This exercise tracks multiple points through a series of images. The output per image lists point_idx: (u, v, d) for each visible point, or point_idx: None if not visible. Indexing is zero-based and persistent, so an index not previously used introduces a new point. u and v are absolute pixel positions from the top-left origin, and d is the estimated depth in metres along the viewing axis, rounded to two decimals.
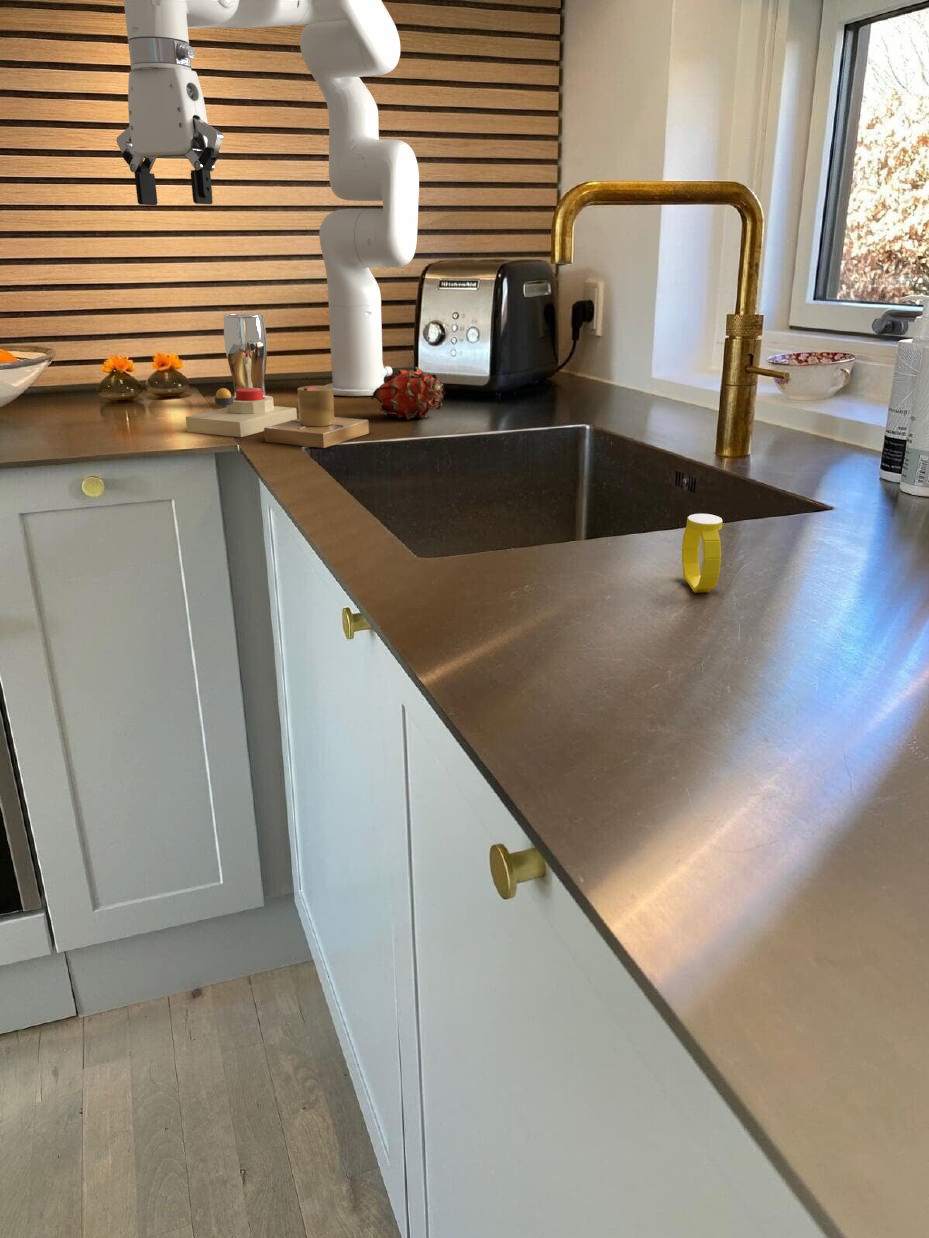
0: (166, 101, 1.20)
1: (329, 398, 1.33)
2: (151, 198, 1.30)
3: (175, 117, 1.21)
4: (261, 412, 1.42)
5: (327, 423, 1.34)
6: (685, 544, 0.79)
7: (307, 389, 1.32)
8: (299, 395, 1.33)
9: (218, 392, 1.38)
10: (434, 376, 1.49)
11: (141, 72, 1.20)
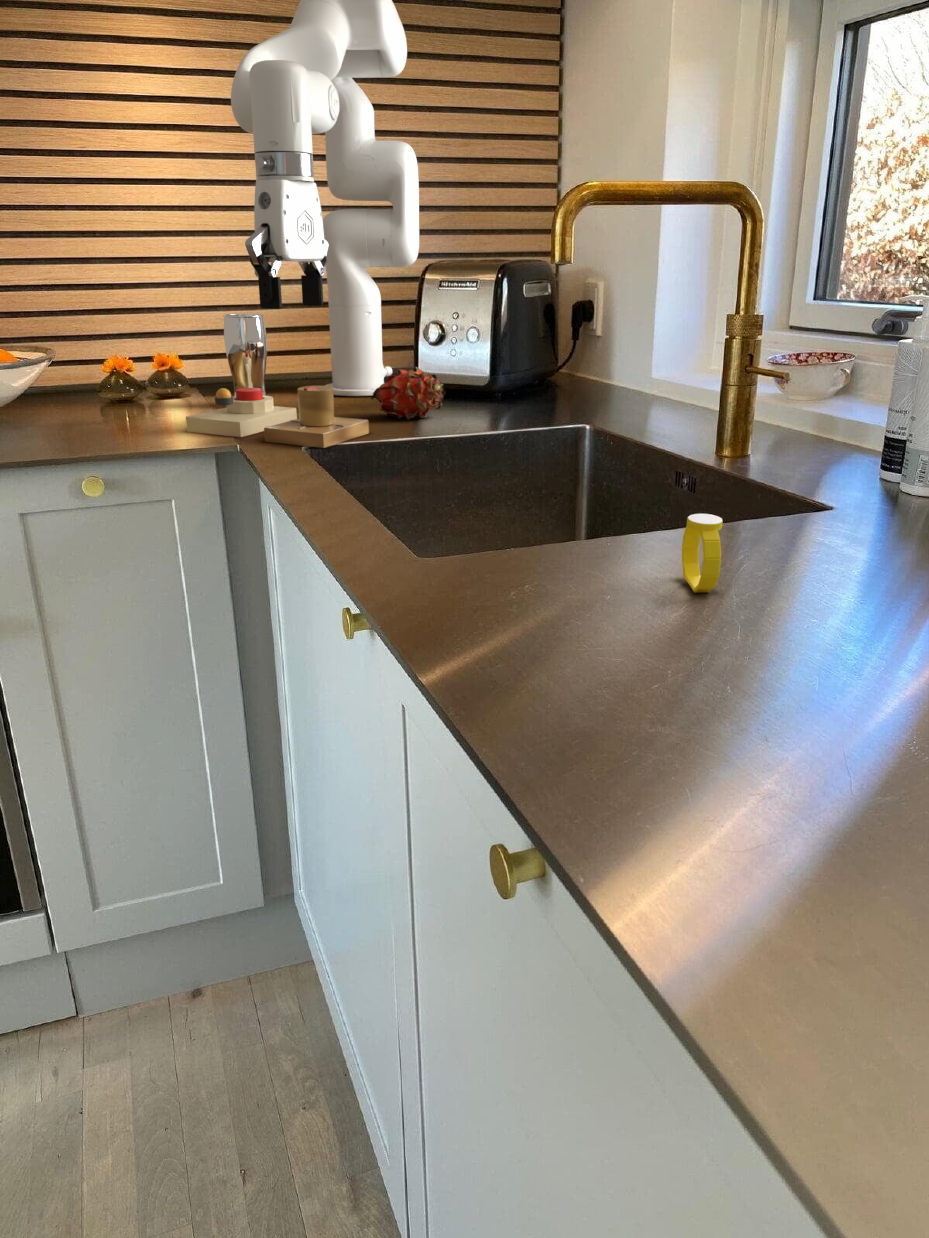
0: None
1: (329, 398, 1.33)
2: (313, 299, 1.33)
3: None
4: (261, 412, 1.42)
5: (327, 423, 1.34)
6: (685, 544, 0.79)
7: (307, 389, 1.32)
8: (299, 395, 1.33)
9: (218, 392, 1.38)
10: (434, 376, 1.49)
11: None
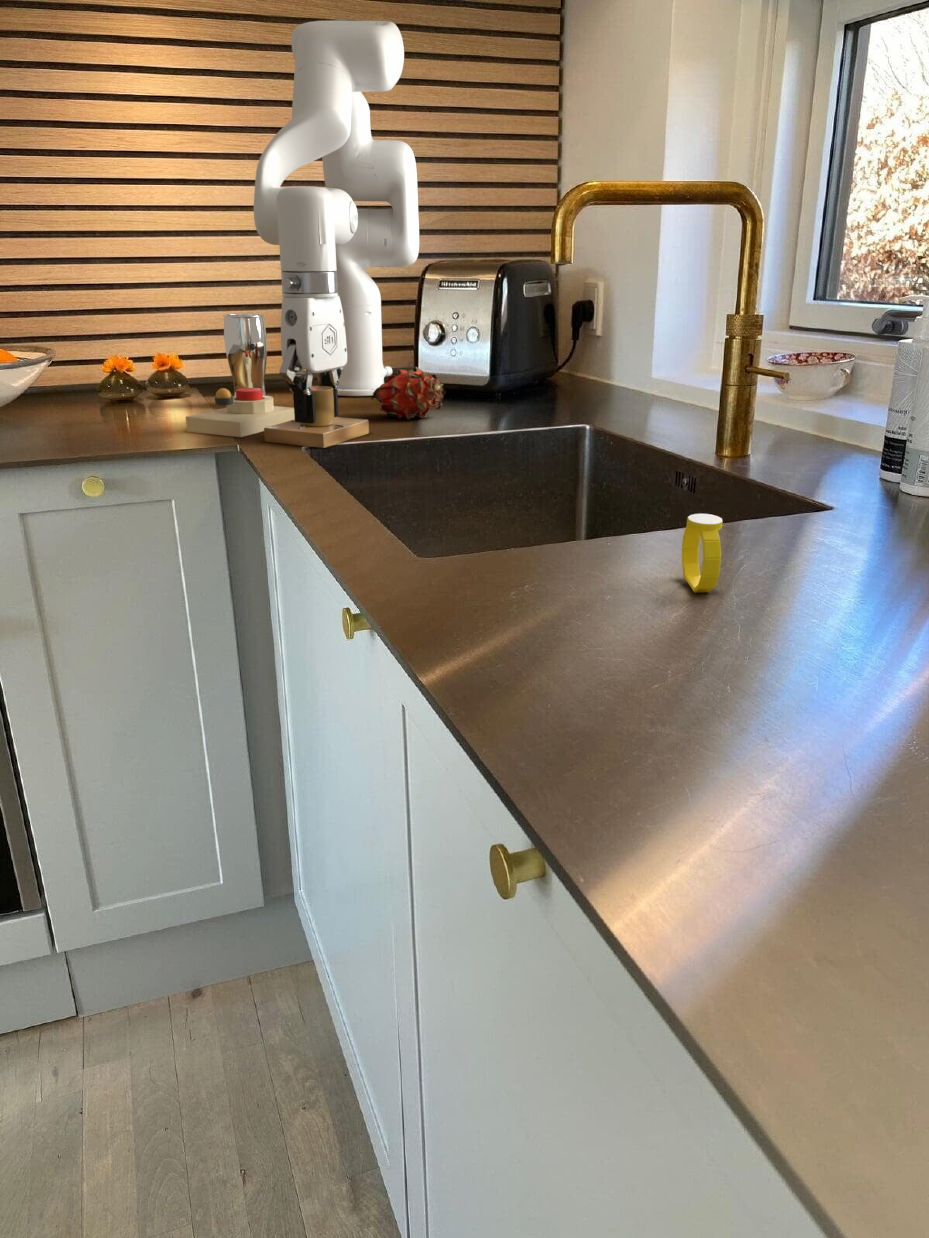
0: None
1: (329, 398, 1.33)
2: None
3: None
4: (261, 412, 1.42)
5: (327, 423, 1.34)
6: (685, 544, 0.79)
7: None
8: None
9: (218, 392, 1.38)
10: (434, 376, 1.49)
11: None
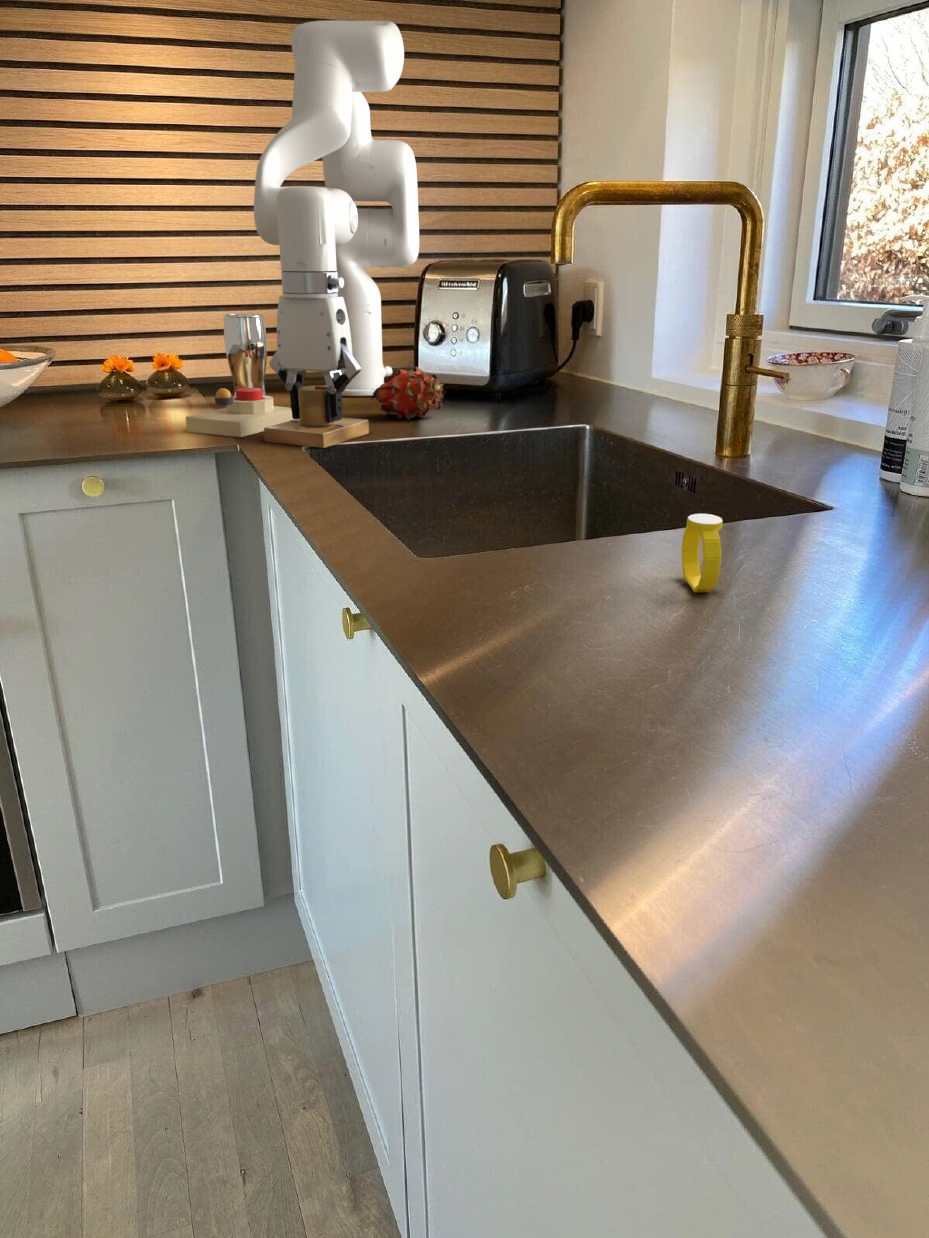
0: (316, 326, 1.28)
1: None
2: None
3: (324, 341, 1.28)
4: (261, 412, 1.42)
5: None
6: (685, 544, 0.79)
7: None
8: (323, 396, 1.32)
9: (218, 392, 1.38)
10: (434, 376, 1.49)
11: (293, 299, 1.28)
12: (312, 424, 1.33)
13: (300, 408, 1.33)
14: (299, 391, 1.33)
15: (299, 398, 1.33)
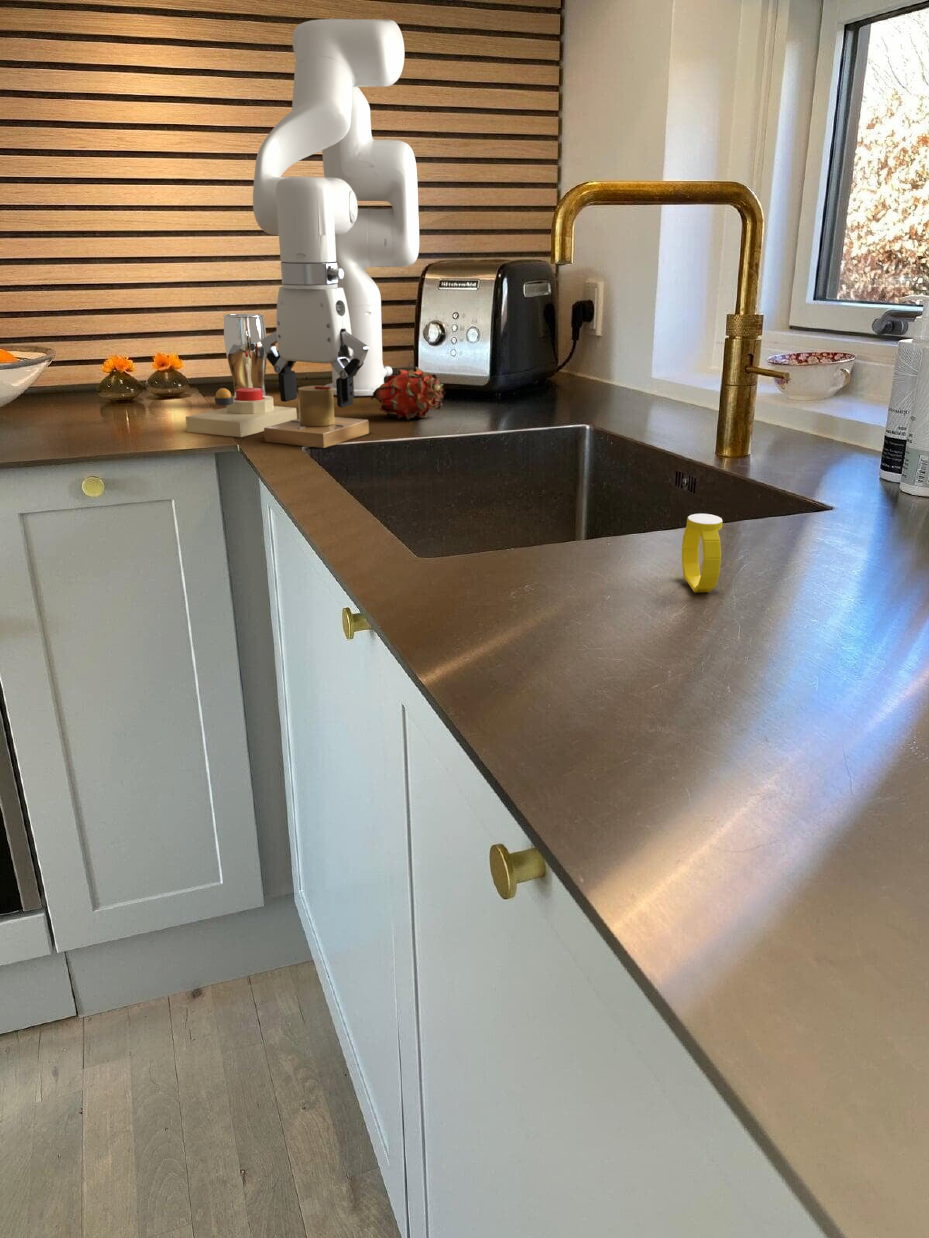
0: (316, 318, 1.27)
1: None
2: (292, 394, 1.37)
3: (324, 332, 1.28)
4: (261, 412, 1.42)
5: None
6: (685, 544, 0.79)
7: None
8: (323, 396, 1.32)
9: (218, 392, 1.38)
10: (434, 376, 1.49)
11: (292, 290, 1.27)
12: (312, 424, 1.33)
13: (300, 408, 1.33)
14: (299, 391, 1.32)
15: (299, 398, 1.33)
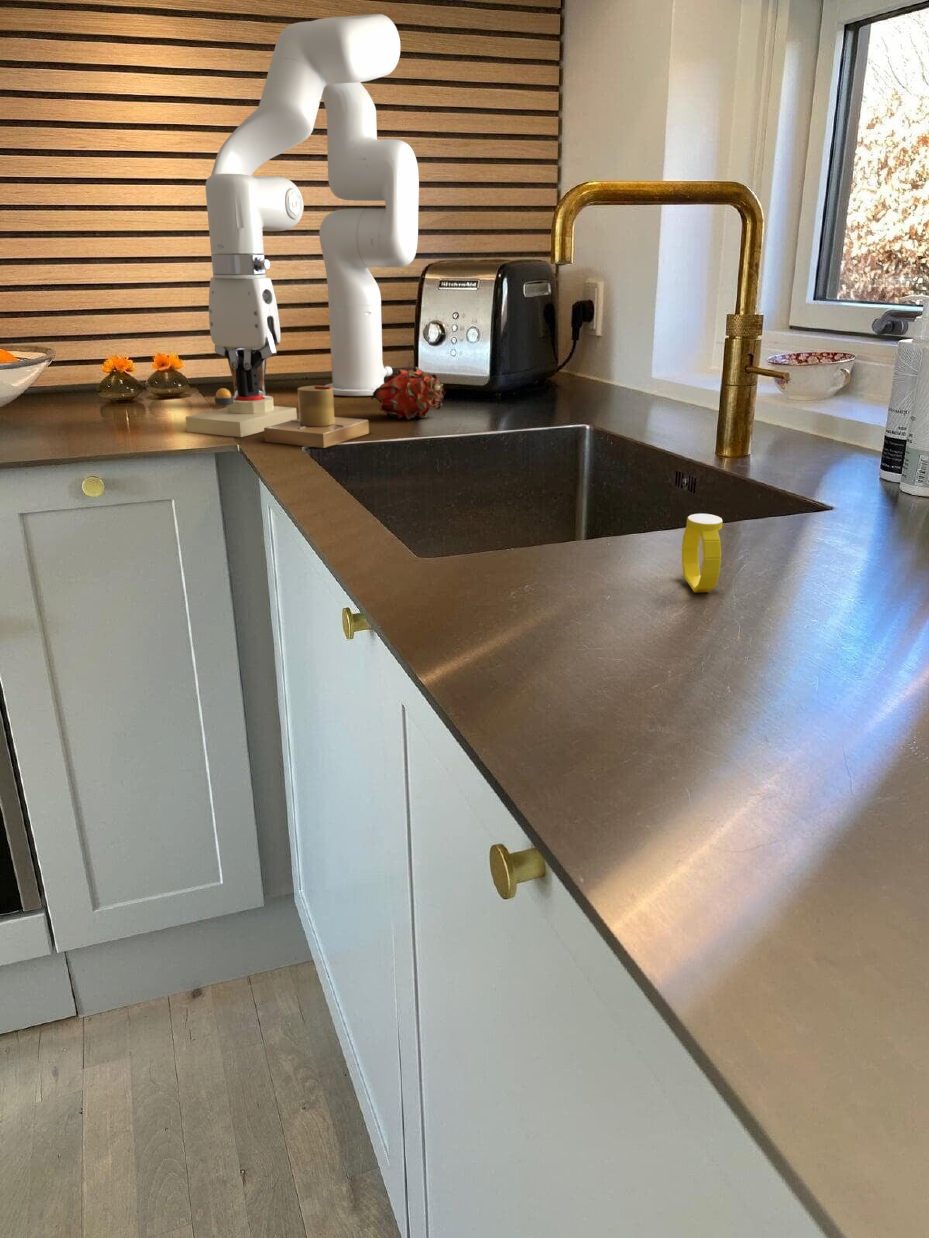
0: (244, 305, 1.36)
1: None
2: None
3: (252, 319, 1.36)
4: (261, 412, 1.42)
5: None
6: (685, 544, 0.79)
7: None
8: (323, 396, 1.32)
9: (218, 392, 1.38)
10: (434, 376, 1.49)
11: (222, 280, 1.36)
12: (312, 424, 1.33)
13: (300, 408, 1.33)
14: (299, 391, 1.32)
15: (299, 398, 1.33)
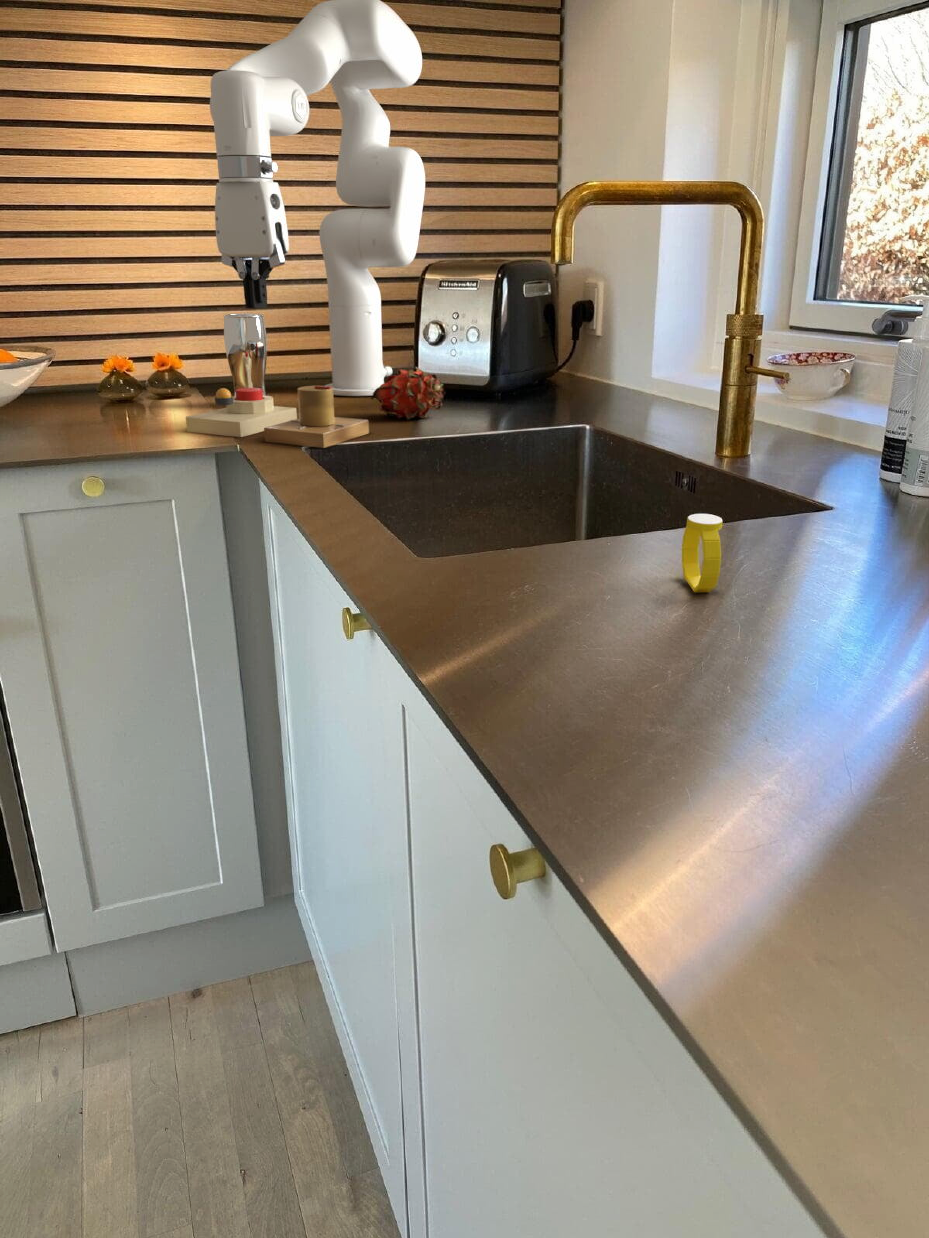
0: (251, 211, 1.32)
1: None
2: None
3: (259, 225, 1.33)
4: (261, 412, 1.42)
5: None
6: (685, 544, 0.79)
7: None
8: (323, 396, 1.32)
9: (218, 392, 1.38)
10: (434, 376, 1.49)
11: (228, 184, 1.32)
12: (312, 424, 1.33)
13: (300, 408, 1.33)
14: (299, 391, 1.32)
15: (299, 398, 1.33)
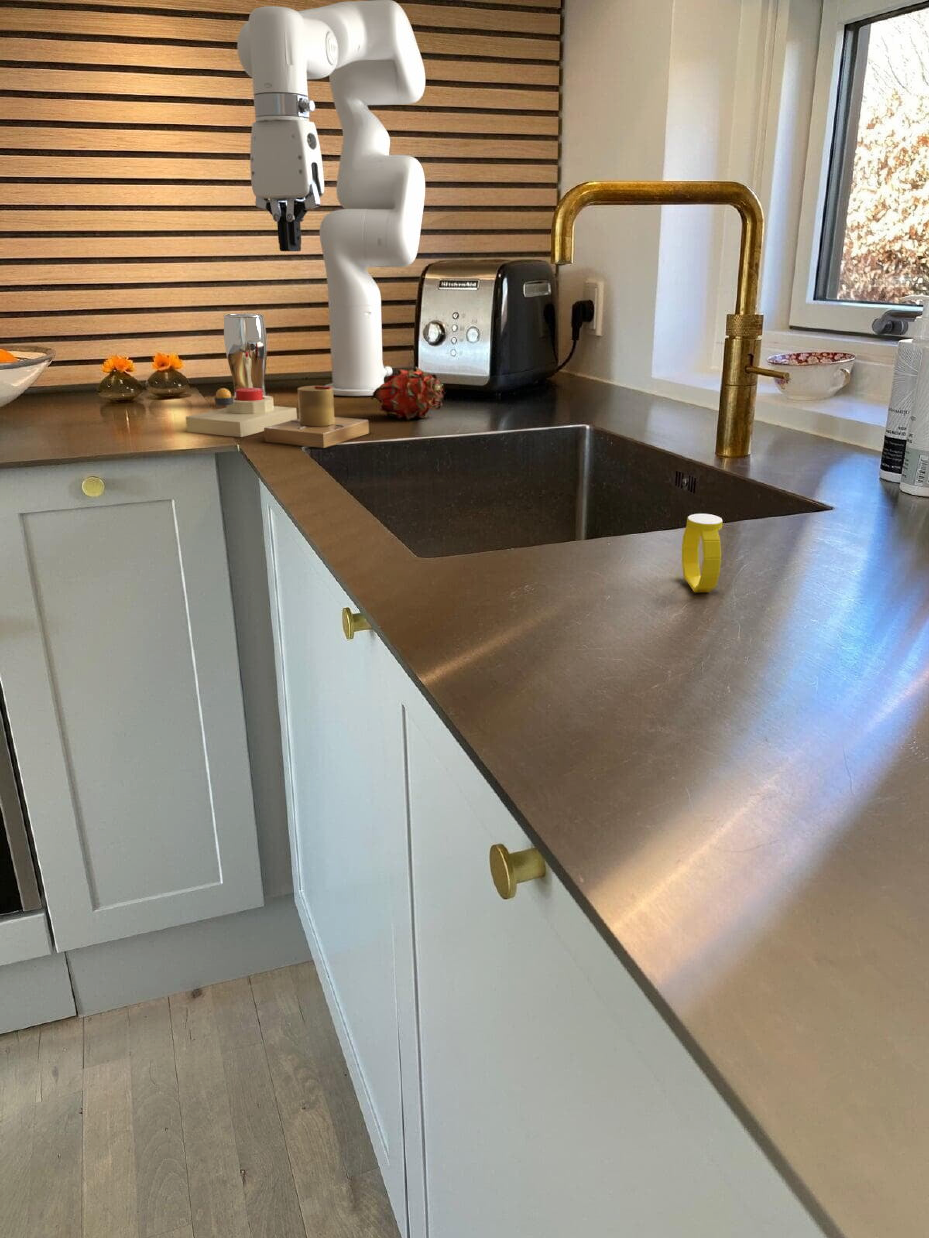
0: (288, 150, 1.31)
1: None
2: None
3: (296, 164, 1.32)
4: (261, 412, 1.42)
5: None
6: (685, 544, 0.79)
7: None
8: (323, 396, 1.32)
9: (218, 392, 1.38)
10: (434, 376, 1.49)
11: (265, 123, 1.31)
12: (312, 424, 1.33)
13: (300, 408, 1.33)
14: (299, 391, 1.32)
15: (299, 398, 1.33)
